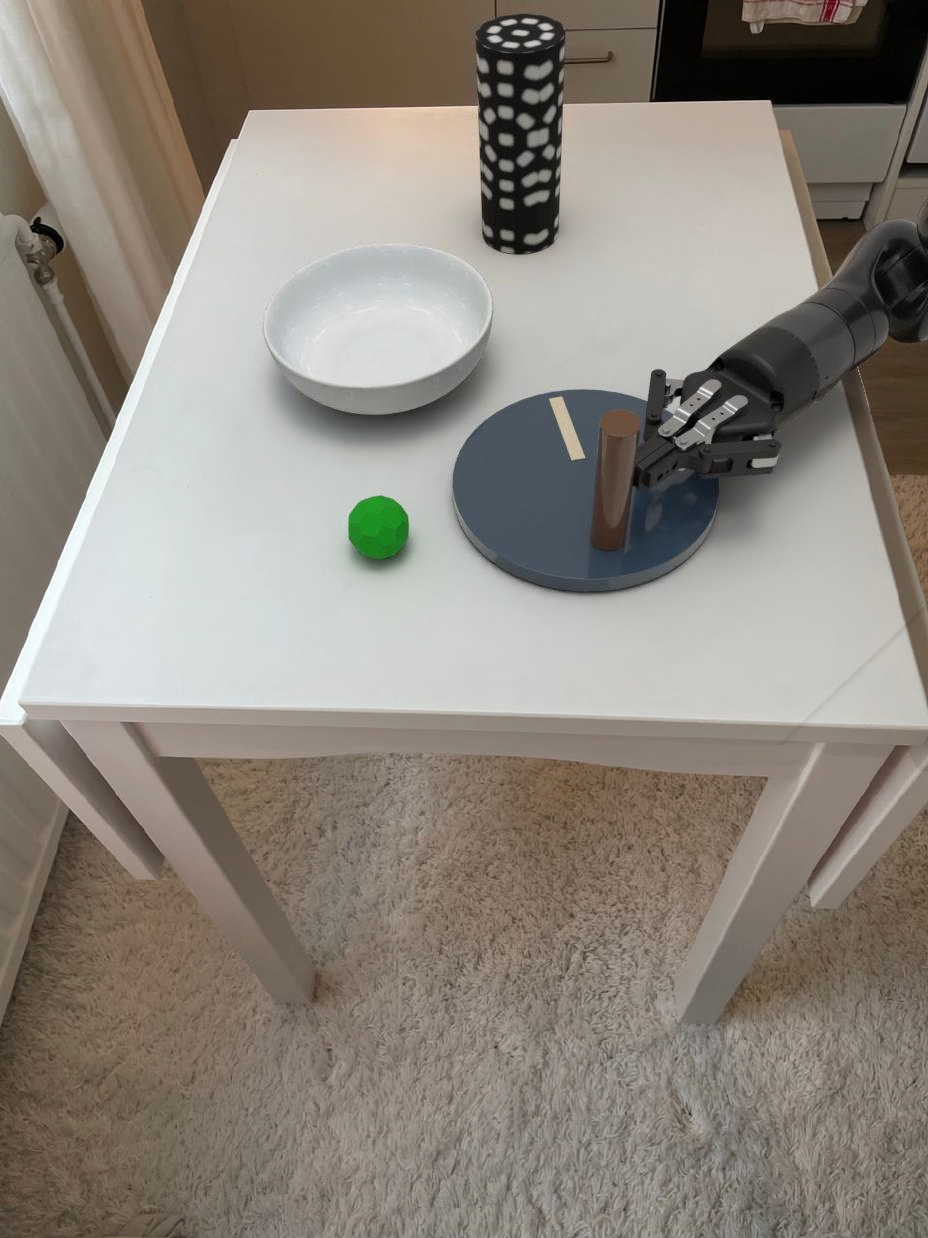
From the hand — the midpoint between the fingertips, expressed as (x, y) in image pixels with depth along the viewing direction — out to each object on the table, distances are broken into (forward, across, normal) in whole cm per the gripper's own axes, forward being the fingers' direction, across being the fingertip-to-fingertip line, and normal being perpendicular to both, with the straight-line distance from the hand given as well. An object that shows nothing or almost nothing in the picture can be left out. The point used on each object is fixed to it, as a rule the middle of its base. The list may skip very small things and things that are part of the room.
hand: (632, 476), depth 70 cm
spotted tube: (-25, -39, +8) cm, 47 cm away
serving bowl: (0, -31, +8) cm, 32 cm away
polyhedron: (+14, -14, +8) cm, 21 cm away
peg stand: (-2, -7, +8) cm, 11 cm away
